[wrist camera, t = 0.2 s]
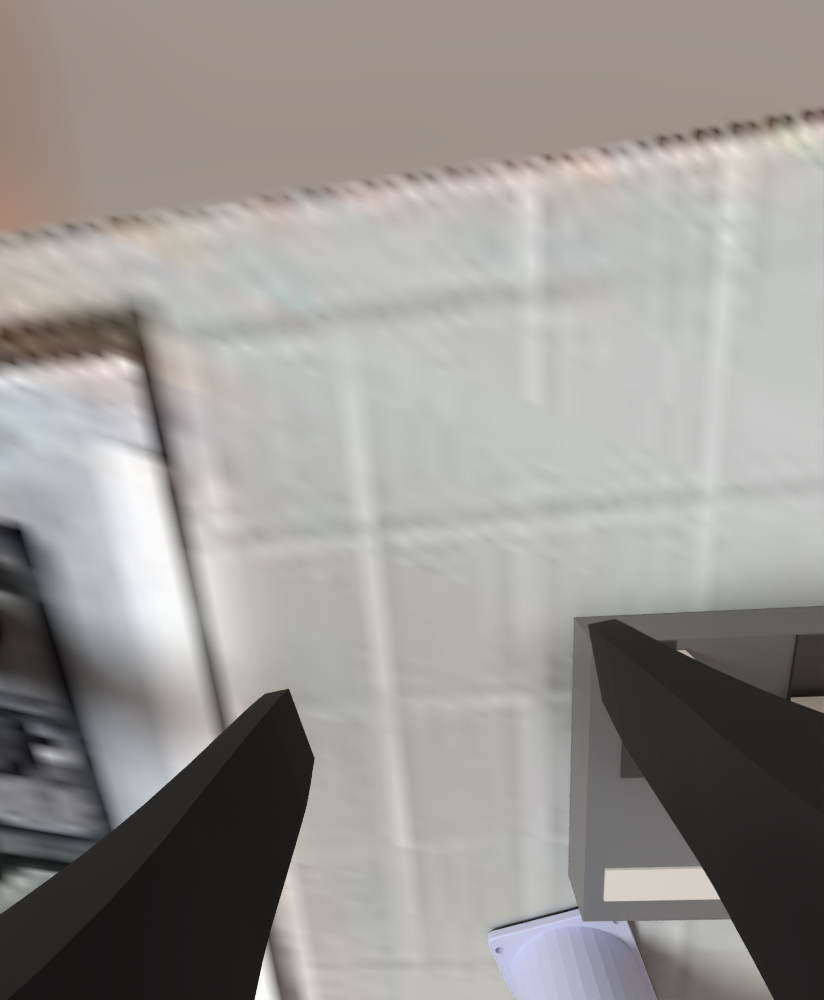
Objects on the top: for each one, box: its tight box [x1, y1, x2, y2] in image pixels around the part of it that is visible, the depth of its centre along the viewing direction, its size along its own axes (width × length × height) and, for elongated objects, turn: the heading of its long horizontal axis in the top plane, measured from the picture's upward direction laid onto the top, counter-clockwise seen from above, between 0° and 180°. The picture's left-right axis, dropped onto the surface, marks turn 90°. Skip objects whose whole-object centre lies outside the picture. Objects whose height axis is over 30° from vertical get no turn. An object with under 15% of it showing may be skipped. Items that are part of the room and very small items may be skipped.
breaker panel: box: [568, 606, 824, 922], centre depth 21 cm, size 16×12×2 cm
